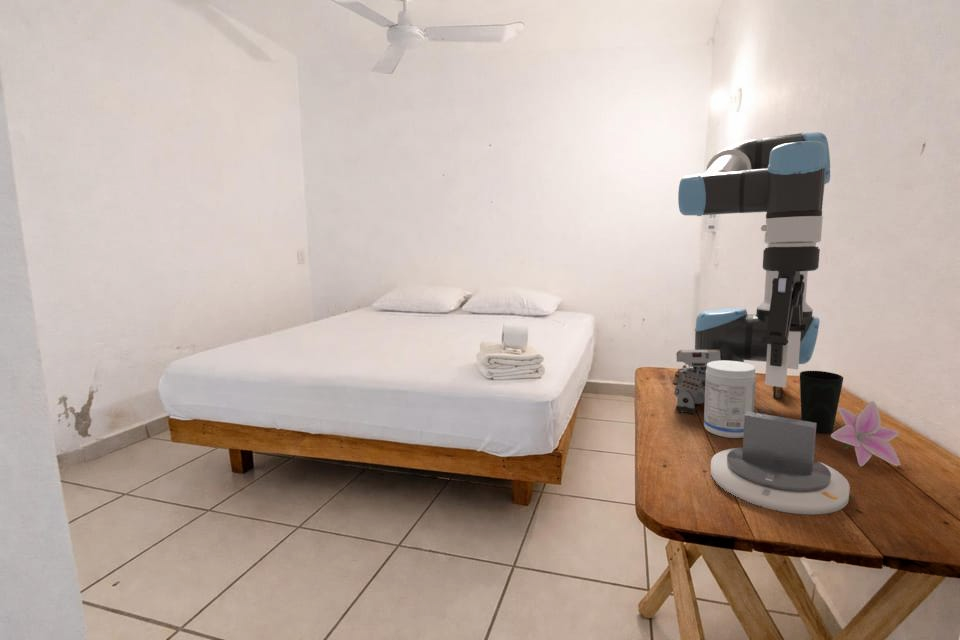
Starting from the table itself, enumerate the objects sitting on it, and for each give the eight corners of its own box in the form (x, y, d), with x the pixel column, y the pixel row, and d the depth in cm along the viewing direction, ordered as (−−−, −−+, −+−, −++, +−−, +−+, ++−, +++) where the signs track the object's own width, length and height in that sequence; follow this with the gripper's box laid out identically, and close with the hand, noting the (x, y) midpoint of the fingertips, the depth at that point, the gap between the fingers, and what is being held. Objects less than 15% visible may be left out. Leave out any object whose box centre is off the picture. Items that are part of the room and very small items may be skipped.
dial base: (726, 448, 97) (726, 438, 97) (851, 476, 85) (853, 464, 84) (696, 488, 82) (696, 476, 82) (844, 529, 70) (845, 515, 69)
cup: (797, 432, 104) (801, 377, 103) (794, 420, 111) (797, 369, 109) (841, 438, 101) (846, 381, 99) (835, 425, 108) (840, 372, 106)
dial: (737, 444, 94) (740, 399, 92) (834, 465, 84) (838, 415, 83) (716, 474, 82) (719, 423, 81) (825, 501, 73) (830, 444, 71)
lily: (815, 463, 92) (842, 430, 86) (812, 421, 101) (837, 389, 95) (888, 491, 89) (922, 459, 83) (879, 445, 97) (909, 413, 91)
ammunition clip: (772, 387, 136) (775, 345, 134) (780, 388, 135) (783, 345, 133) (773, 398, 127) (776, 352, 125) (781, 399, 126) (784, 353, 124)
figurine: (720, 419, 113) (723, 356, 111) (669, 410, 120) (670, 350, 118) (727, 408, 121) (730, 348, 118) (679, 400, 127) (681, 344, 125)
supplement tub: (721, 420, 113) (724, 357, 110) (762, 433, 104) (766, 366, 102) (693, 429, 108) (696, 364, 106) (734, 443, 100) (737, 373, 98)
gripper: (777, 245, 89) (770, 359, 92) (747, 246, 70) (739, 390, 73) (827, 244, 85) (818, 364, 88) (810, 245, 65) (799, 399, 69)
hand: (782, 376), depth 80 cm, fingers open, 13 cm apart
